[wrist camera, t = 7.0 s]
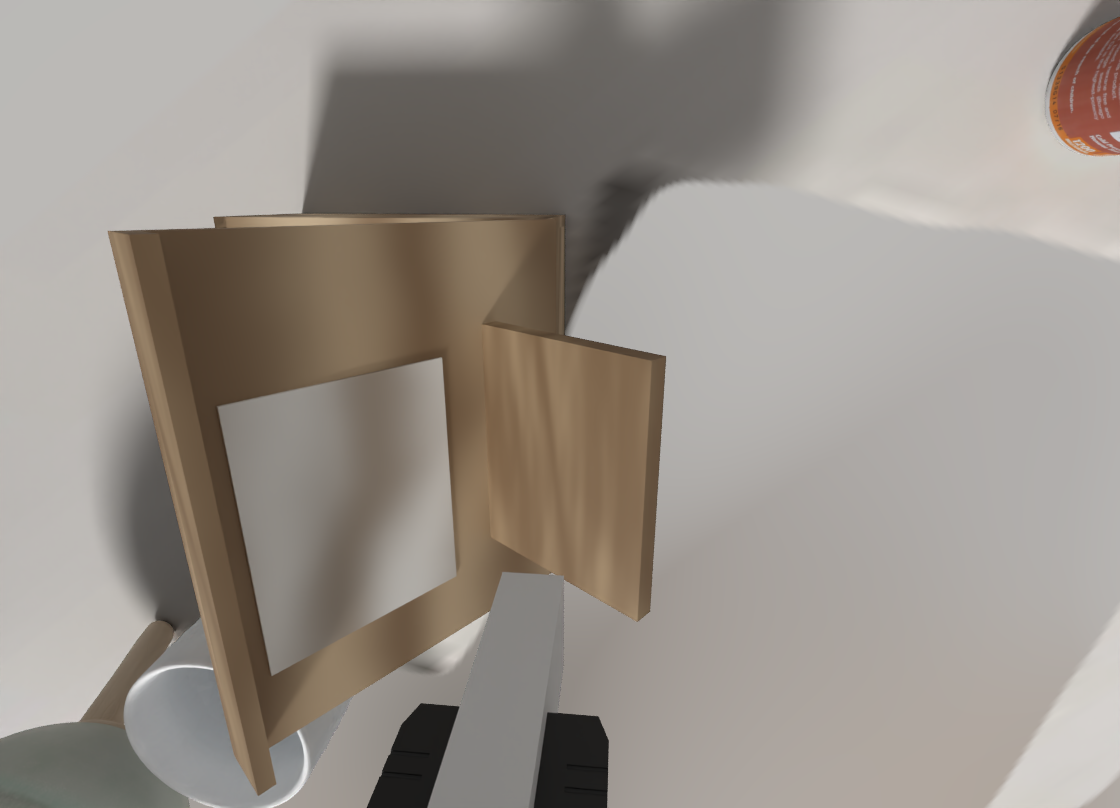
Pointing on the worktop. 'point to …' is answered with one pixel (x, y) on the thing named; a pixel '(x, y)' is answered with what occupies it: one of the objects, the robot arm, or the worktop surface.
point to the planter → (89, 750)
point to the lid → (379, 446)
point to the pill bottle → (1088, 94)
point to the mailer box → (410, 218)
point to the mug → (210, 732)
